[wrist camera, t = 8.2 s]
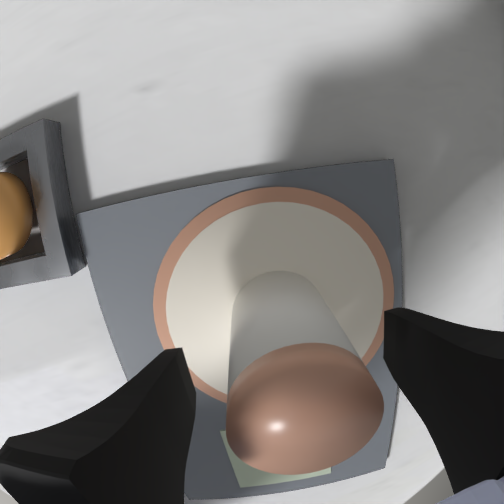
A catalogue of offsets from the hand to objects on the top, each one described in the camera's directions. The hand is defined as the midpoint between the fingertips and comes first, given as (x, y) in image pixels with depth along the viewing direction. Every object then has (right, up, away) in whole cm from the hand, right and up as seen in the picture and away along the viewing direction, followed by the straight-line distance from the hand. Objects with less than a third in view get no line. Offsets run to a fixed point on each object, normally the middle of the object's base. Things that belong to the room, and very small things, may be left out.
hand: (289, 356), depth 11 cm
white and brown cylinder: (0, +1, +3) cm, 3 cm away
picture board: (0, -3, +5) cm, 6 cm away
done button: (-13, +5, +1) cm, 14 cm away
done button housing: (-13, +6, +2) cm, 14 cm away
